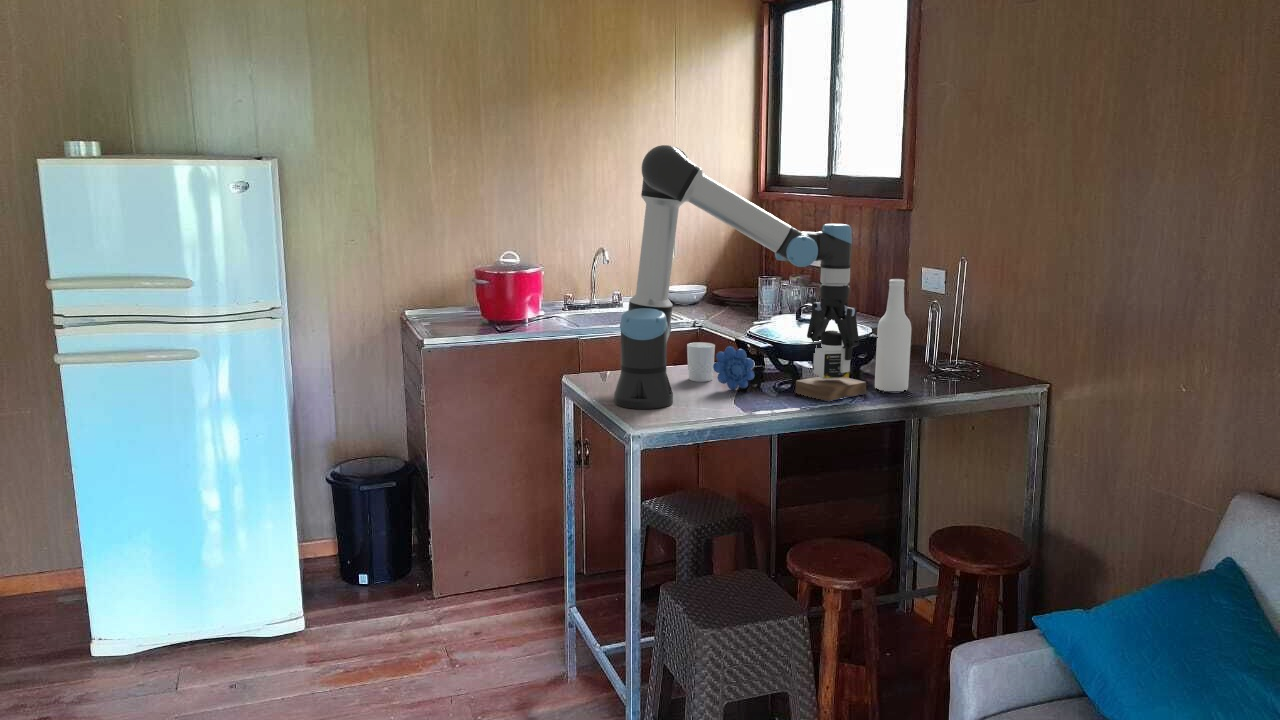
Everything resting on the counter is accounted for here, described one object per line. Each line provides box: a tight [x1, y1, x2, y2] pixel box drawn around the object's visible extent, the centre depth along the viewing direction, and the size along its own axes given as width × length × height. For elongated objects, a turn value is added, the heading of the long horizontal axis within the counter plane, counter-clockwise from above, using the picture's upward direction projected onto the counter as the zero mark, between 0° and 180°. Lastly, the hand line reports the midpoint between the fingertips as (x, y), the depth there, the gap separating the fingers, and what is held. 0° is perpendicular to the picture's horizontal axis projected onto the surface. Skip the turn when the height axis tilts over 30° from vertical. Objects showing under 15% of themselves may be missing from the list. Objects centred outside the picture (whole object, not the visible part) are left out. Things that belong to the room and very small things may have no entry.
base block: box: [795, 376, 867, 401], centre depth 252 cm, size 14×12×4 cm
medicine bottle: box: [813, 330, 850, 379], centre depth 251 cm, size 7×7×12 cm
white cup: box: [686, 341, 716, 383], centre depth 270 cm, size 8×8×10 cm
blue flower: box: [713, 345, 756, 390], centre depth 256 cm, size 12×7×12 cm, turn 102°
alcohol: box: [874, 278, 913, 391], centre depth 255 cm, size 9×9×30 cm
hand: (831, 368), depth 251 cm, fingers closed on medicine bottle, 9 cm apart
